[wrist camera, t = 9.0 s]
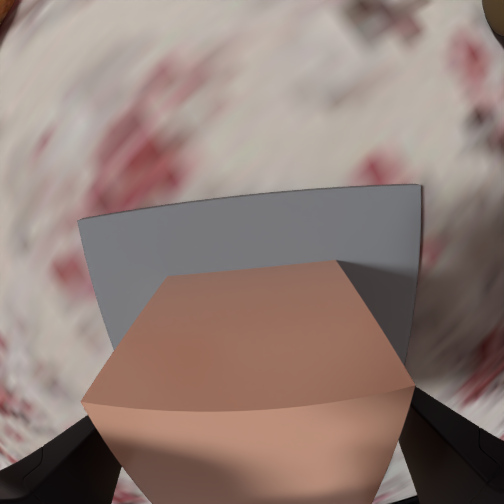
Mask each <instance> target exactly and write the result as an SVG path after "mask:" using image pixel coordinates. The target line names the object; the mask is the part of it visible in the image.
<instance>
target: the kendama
mask: <svg viewBox="0 0 504 504" xmlns="http://www.w3.org/2000/svg"><path fill="white" fill-rule="evenodd" d="M482 5H483V9H484V13H485V16H486V19H487V21H488V23H489V25H490V26H491V28H492V29H493V31H494V32H495V33H497V34H499V35H501V36H503V37H504V0H482Z"/></svg>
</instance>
